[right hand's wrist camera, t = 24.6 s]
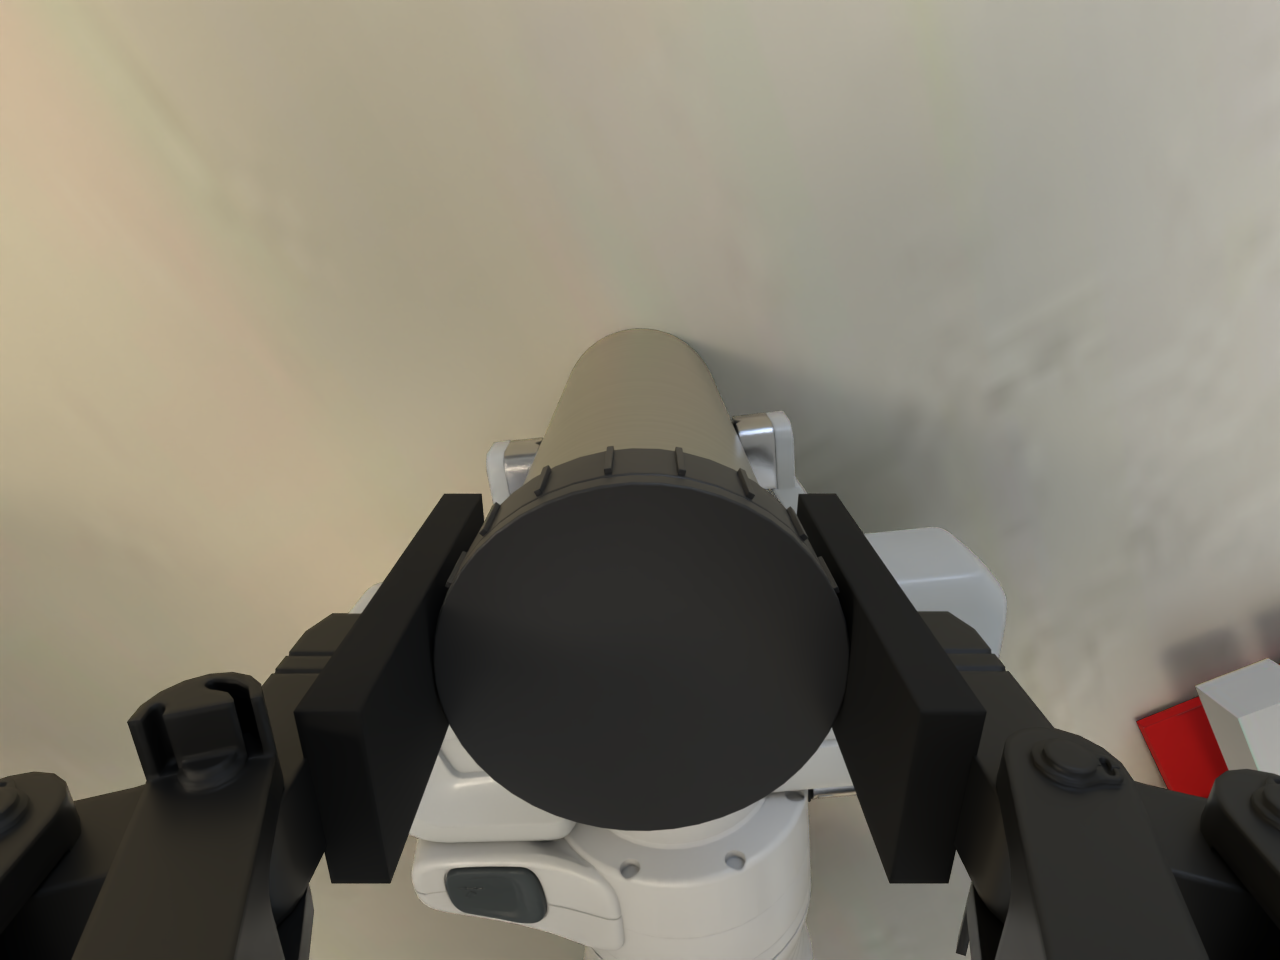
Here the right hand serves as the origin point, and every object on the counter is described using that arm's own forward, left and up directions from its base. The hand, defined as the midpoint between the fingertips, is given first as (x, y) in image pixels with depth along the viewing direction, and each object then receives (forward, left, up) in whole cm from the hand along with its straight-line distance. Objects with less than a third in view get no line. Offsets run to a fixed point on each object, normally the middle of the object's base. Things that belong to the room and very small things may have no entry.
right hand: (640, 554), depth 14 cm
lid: (0, 0, +4) cm, 4 cm away
